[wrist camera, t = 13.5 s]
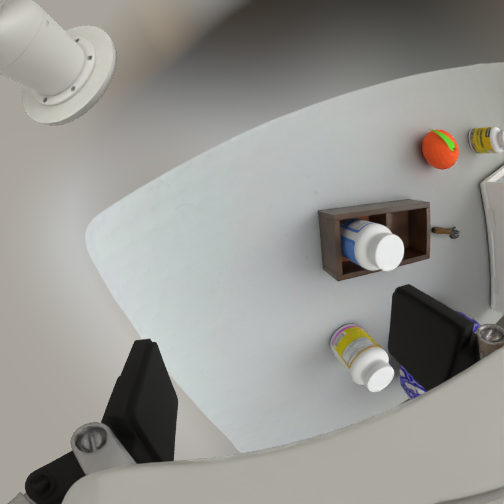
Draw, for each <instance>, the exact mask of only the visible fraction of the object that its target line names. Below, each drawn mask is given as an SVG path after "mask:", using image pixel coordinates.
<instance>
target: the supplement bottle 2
mask: <svg viewBox="0 0 504 504" xmlns="http://www.w3.org/2000/svg"><path fill="white" fill-rule="evenodd" d="M469 144H470V146H471V148H472V150H473V151H474V152H476V153H502V152H503V150H504V130H499V129H498V128H496V127H488V128H474V129H471V130H470V132H469Z"/></svg>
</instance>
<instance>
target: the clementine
mask: <svg viewBox="0 0 504 504" xmlns="http://www.w3.org/2000/svg"><path fill="white" fill-rule="evenodd" d="M429 130H430V129H429ZM422 151H423V155H424V157H425V158H426V160H427V162H428V163H429V164H430V165H432V166H433V167H435V168H438V169H447V168H450V167H451V166H453V165H454V164H455V162H456V161H457V158H458V154H459V151H458V145H457V143H456V141H455V139H454V138H453V137H452V136H451V135H450V134H449V133H448V132H446V131H443V130H432V131H431V132H429V133H428V134H427V135H426V136H425V137H424V140H423V143H422Z"/></svg>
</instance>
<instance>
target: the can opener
mask: <svg viewBox="0 0 504 504" xmlns="http://www.w3.org/2000/svg"><path fill="white" fill-rule="evenodd" d="M454 228H456V227H453V228H452V230H450V229H444V228H439V227H433V228H432V232H433V233H436V234H451V237H452V238H454V239H455V238H457V237H459V235H455V234H459V233H460V232H459V231H457V230H456V231H454Z"/></svg>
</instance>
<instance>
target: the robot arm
mask: <svg viewBox="0 0 504 504" xmlns="http://www.w3.org/2000/svg"><path fill="white" fill-rule="evenodd" d="M95 62H96V52H95V49H94V47H93V45H92V44H91V43H90V42H89V41H88V40H86V39H84V38H81V37H73V38H71V37H70V36H69V35H68V34H67V33H66V32H65V31H64V30H63V29H62V28H61V27H60V26H59V25H58V24H57V23H56V22H55V21H54V20H53V19H52V18H51V17H50V16H49V15H48V14H47V13H46V12H45V11H44V10H43V9H42V8H41V7H40V6H39V5H38V4H37V3H35V2H33V1H31V0H9V1H8V0H0V74H1V75H3V76H5V77H8V78H10V79H12V80H14V81H17V82H19V83H21V84H23V85H25V86H27V87H29V88H31V90H32V94H33V97H34V98H35V100H36V101H37V102H39V103H40V104H43V105H46V106H56V105H59V104H62V103H64V102H66V101H68V100H69V99H71V98H72V97H74V96H75V95H76V94H77V93H78V92H79V91H80V90H81V89H82V88H83V87H84V85H85V84H86V83H87V81H88V80H89V78H90V76H91V74H92V72H93V69H94V67H95ZM474 324H475V323H474V322H472V321H470V320H469V319H467V318H465V317H464V316H462V315H461V314H459V313H457V312H456V311H454V310H452V309H451V308H449V307H447V306H446V305H444V304H442V303H441V302H439V301H437V300H436V299H434V298H432V297H430V296H429V295H427V294H425V293H424V292H422V291H420V290H418V289H417V288H415V287H413V286H411V285H409V284H408V285H404V286H401V287H398V288H396V290H395V292H394V293H393V296H392V309H391V322H390V332H389V341H388V350H389V353H390V354H391V355H392V356H393V357H394V358H395V359H396V360H397V361H398V362H399V363H400V364H401V365H402V366H403V367H404V368H405V369H406V370H407V371H408V372H409V374H410V375H411V376H412V377H413V378H414V379H415V380H416V381H417V382H418V383H419V384H420V385H421V386H422V387H423V388H424V389H425V390H426V391H427V392H425V393H423V394H422V395H420V396H418V397H416V398H414V399H412V400H410V401H407V402H405V403H403V404H401V405H399V406H397V407H394V408H392V409H390V410H388V411H385V412H383V413H381V414H378V415H376V416H373V417H371V418H368V419H366V420H363V421H361V422H358V423H355V424H353V425H350V426H347V427H344V428H341V429H338V430H335V431H332V432H329V433H326V434H323V435H319V436H316V437H312V438H309V439H305V440H302V441H298V442H294V443H290V444H286V445H282V446H277V447H273V448H268V449H263V450H258V451H252V452H247V453H241V454H234V455H227V456H220V457H213V458H204V459H194V460H181V461H174V447H175V433H176V421H177V420H176V419H177V410H178V399H177V395H176V392H175V390H174V388H173V385H172V383H171V380H170V377H169V375H168V372H167V370H166V367H165V364H164V362H163V359H162V356H161V353H160V350H159V348H158V345H157V343H156V342H152V341H151V339H143V340H136V341H135V342H134V344H133V346H132V349H131V351H130V353H129V356H128V358H127V361H126V363H125V366H124V368H123V371H122V373H121V376H119V377H118V379H117V381H116V384H115V386H114V389H113V392H112V394H111V397H110V400H109V402H108V405H107V408H106V410H105V413H104V416H103V419H102V421H101V423H97V422H93V423H88V424H85V425H83V426H81V427H80V428H78V429H77V430H76V431H75V432H74V433H73V435H72V438H71V447H72V451H71V452H69V453H67V454H65V455H64V456H62V457H60V458H58V459H56V460H55V461H53V462H51V463H49V464H47V465H45V466H43V467H41V468H39V469H37V470H35V471H34V472H33V473H31V474H30V475H29V476H28V478H27V480H26V482H25V490H26V493H25V494H24V495H23V494H22V493H19V494H18V495H17V496H16V497H15V498H14V499H13V500H12V501H10V502H9V503H8V504H504V329H503V328H502V327H500V326H498V325H495V324H484V325H481V326H480V327H478V328H477V330H476V334H475V333H474V332H473V328H474Z"/></svg>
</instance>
